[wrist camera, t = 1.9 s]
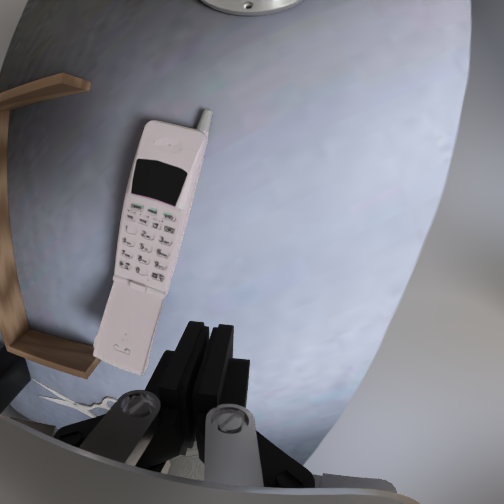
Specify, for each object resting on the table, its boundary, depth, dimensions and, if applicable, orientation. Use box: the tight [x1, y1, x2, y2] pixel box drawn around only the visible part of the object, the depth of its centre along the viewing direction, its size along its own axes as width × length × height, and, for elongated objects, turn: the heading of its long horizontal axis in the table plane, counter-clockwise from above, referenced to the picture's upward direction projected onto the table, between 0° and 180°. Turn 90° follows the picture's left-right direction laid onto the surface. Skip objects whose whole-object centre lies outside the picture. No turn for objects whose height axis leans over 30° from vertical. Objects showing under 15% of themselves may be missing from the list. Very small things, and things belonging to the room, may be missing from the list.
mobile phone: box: [93, 109, 213, 376], centre depth 26 cm, size 6×6×25 cm
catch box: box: [0, 73, 101, 379], centre depth 26 cm, size 31×14×5 cm, turn 177°
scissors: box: [33, 379, 117, 418], centre depth 37 cm, size 11×1×20 cm
